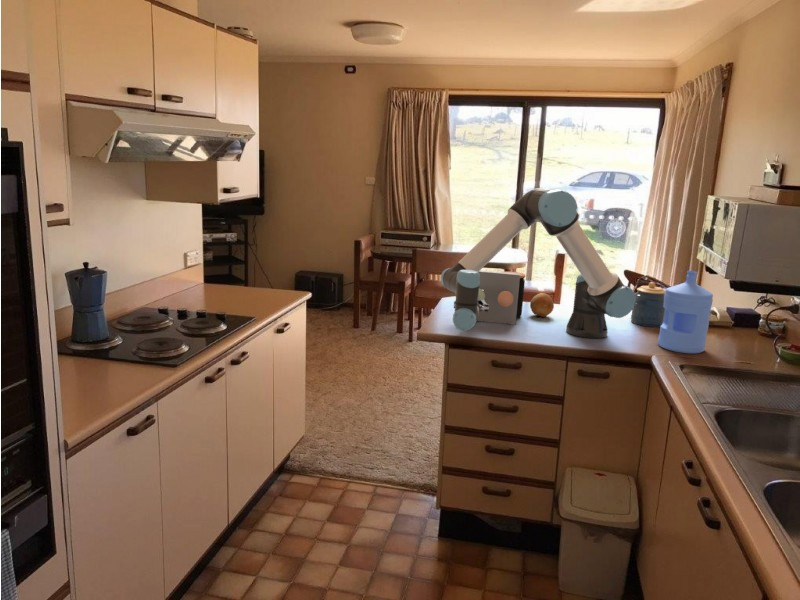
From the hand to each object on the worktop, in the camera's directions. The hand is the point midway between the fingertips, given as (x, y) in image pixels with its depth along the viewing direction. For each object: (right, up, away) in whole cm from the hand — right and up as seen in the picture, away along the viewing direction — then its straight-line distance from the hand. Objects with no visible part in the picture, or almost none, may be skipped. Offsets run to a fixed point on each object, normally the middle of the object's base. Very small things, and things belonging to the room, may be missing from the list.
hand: (475, 297), depth 237 cm
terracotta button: (+12, -3, +4) cm, 13 cm away
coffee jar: (+16, -8, +20) cm, 27 cm away
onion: (+30, -8, +22) cm, 38 cm away
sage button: (+1, -2, +6) cm, 7 cm away
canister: (+74, -11, +19) cm, 77 cm away
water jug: (+72, -18, -16) cm, 76 cm away
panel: (+7, -9, +10) cm, 15 cm away
